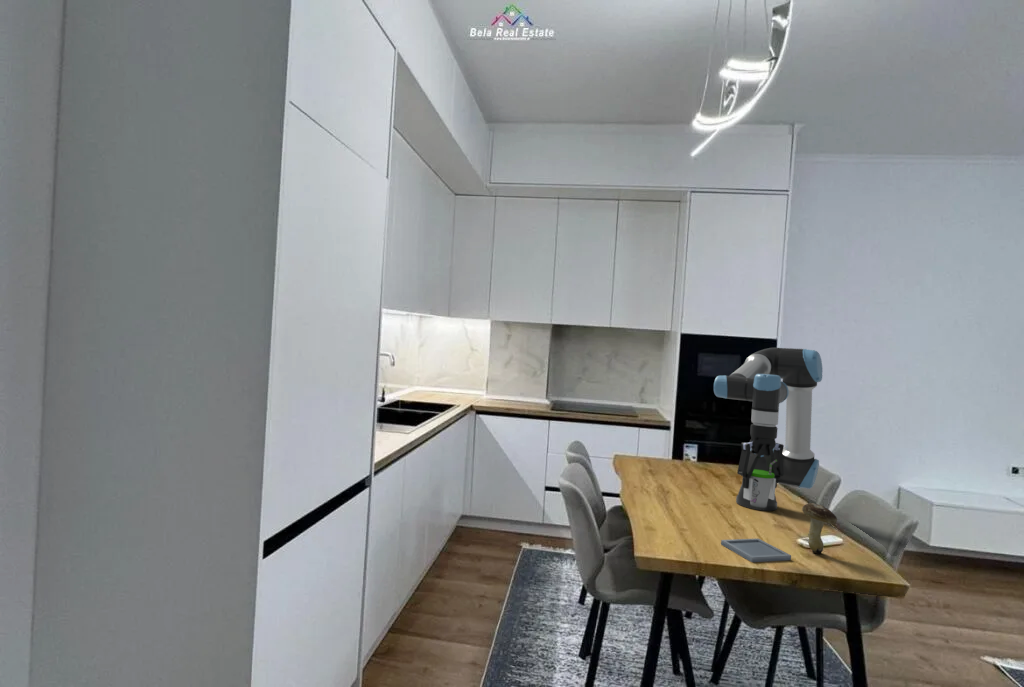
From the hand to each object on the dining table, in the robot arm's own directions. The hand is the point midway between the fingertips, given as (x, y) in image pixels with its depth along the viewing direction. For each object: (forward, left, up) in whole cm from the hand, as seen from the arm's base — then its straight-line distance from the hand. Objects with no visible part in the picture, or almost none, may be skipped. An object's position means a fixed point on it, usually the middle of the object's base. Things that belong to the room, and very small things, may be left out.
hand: (758, 498), depth 172 cm
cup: (0, 0, -2) cm, 2 cm away
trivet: (0, 0, -16) cm, 16 cm away
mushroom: (-20, +3, -17) cm, 26 cm away
